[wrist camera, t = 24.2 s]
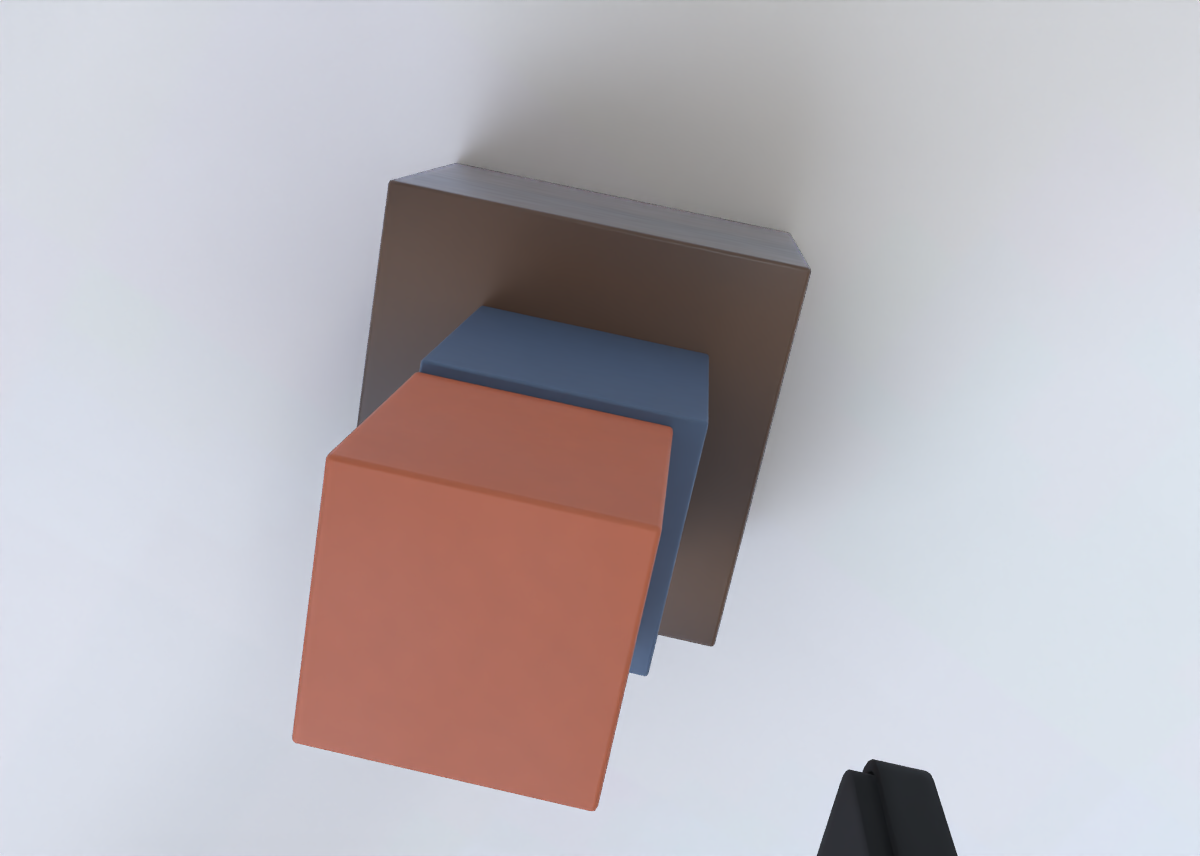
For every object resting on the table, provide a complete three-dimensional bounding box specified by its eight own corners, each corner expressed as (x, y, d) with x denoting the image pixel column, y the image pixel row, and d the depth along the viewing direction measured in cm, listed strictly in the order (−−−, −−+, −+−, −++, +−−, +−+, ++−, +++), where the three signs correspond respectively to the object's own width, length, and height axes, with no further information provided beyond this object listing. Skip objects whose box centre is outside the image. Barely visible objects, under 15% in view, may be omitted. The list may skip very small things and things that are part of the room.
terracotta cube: (415, 369, 18) (324, 454, 14) (674, 426, 18) (662, 528, 14) (381, 602, 20) (289, 743, 15) (621, 656, 19) (596, 814, 15)
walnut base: (453, 162, 28) (388, 179, 22) (791, 233, 28) (812, 268, 22) (407, 477, 31) (337, 564, 25) (713, 545, 30) (714, 648, 25)
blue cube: (480, 304, 23) (420, 359, 18) (709, 354, 23) (708, 422, 18) (446, 515, 24) (382, 617, 20) (659, 564, 24) (647, 677, 20)
